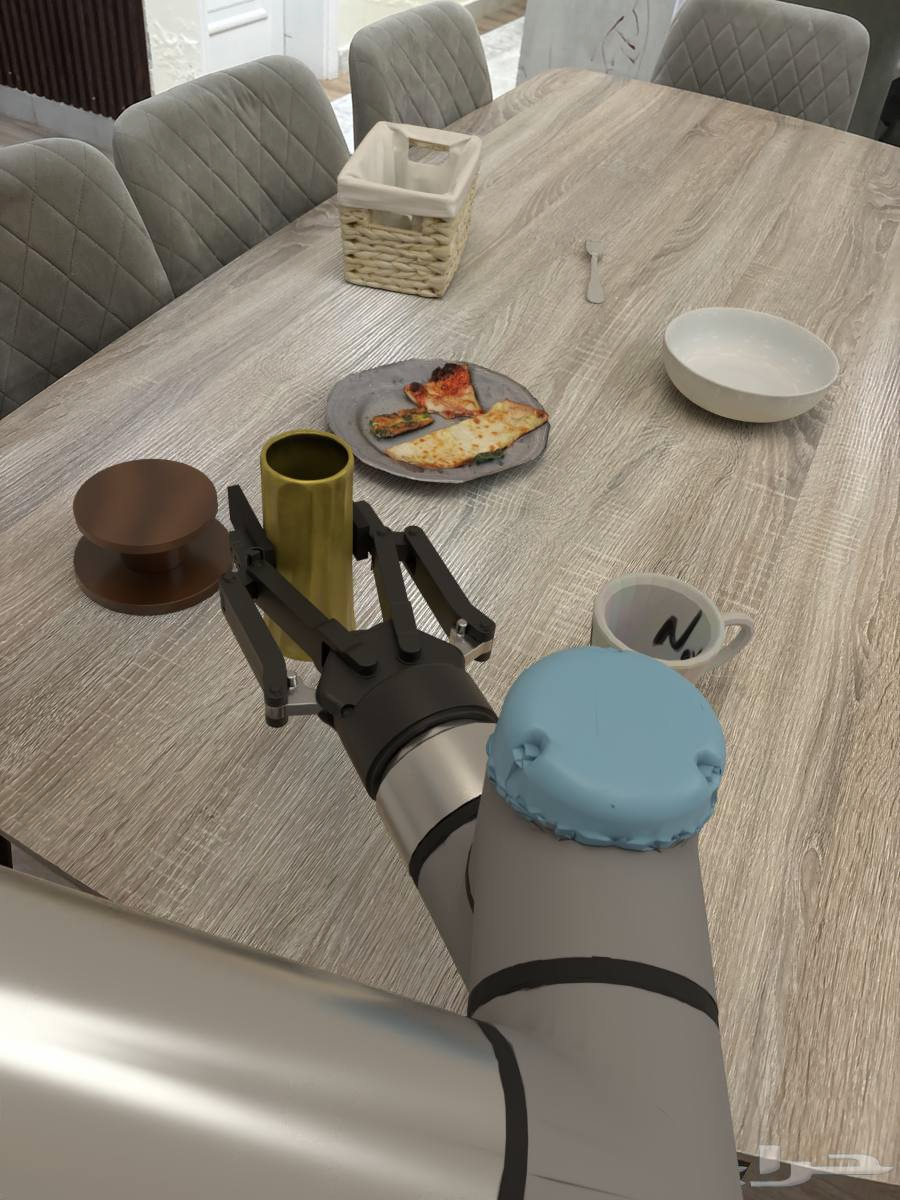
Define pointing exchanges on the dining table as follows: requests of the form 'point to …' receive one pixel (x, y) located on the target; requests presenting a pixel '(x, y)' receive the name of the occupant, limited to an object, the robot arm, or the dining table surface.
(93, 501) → the stand
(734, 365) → the serving bowl
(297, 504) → the vase
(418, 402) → the food plate
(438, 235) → the basket
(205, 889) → the dining table surface
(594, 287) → the fork
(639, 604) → the mug
